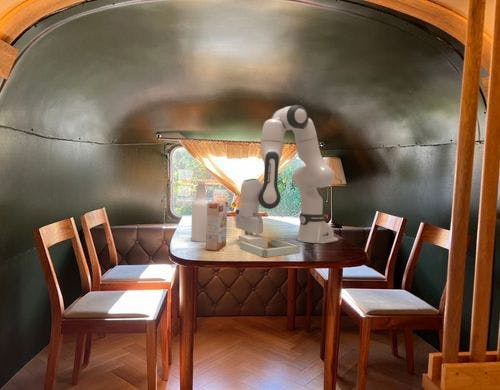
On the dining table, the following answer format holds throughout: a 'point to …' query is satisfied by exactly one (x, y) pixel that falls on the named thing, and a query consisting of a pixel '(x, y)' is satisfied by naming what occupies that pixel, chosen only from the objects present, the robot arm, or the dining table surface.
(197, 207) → the alcohol
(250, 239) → the carton
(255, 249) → the u-shaped frame
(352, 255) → the dining table surface
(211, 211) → the cracker box
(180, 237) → the dining table surface
